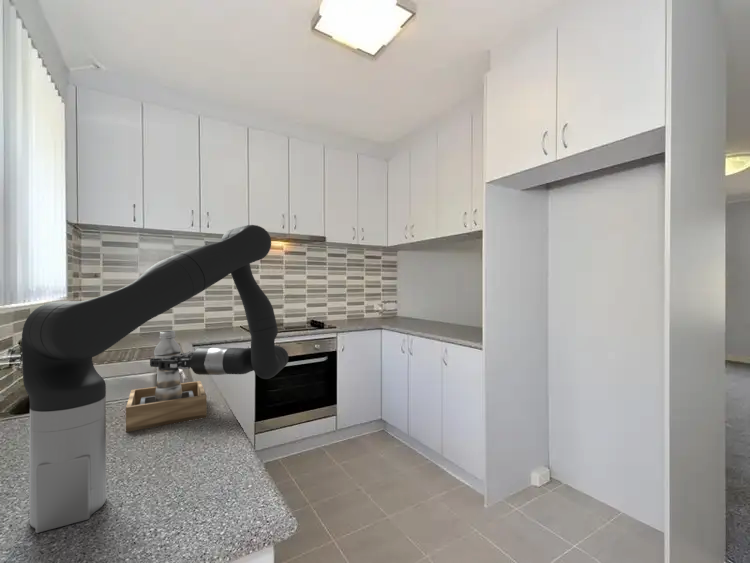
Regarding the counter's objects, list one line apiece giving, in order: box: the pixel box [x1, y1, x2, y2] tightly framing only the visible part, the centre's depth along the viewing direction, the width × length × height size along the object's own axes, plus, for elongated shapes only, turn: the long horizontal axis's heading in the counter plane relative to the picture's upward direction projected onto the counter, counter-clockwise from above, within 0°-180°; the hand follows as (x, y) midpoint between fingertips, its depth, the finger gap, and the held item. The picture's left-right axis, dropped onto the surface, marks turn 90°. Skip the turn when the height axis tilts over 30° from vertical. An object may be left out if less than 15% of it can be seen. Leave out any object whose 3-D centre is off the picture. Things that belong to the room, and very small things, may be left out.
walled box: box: [125, 380, 208, 433], centre depth 100 cm, size 18×18×6 cm
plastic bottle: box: [153, 330, 182, 402], centre depth 101 cm, size 6×7×20 cm
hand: (160, 359), depth 101 cm, fingers closed on plastic bottle, 6 cm apart
